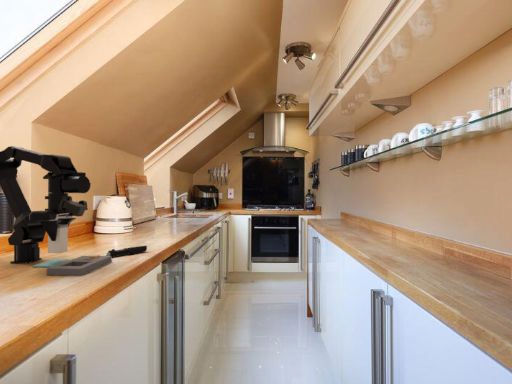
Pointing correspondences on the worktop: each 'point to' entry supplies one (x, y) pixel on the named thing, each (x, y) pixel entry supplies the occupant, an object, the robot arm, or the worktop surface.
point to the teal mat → (51, 263)
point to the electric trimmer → (126, 251)
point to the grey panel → (79, 265)
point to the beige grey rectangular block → (59, 240)
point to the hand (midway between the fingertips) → (57, 240)
